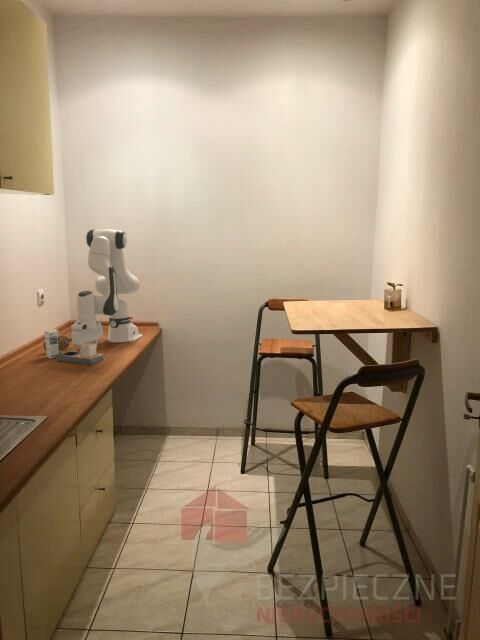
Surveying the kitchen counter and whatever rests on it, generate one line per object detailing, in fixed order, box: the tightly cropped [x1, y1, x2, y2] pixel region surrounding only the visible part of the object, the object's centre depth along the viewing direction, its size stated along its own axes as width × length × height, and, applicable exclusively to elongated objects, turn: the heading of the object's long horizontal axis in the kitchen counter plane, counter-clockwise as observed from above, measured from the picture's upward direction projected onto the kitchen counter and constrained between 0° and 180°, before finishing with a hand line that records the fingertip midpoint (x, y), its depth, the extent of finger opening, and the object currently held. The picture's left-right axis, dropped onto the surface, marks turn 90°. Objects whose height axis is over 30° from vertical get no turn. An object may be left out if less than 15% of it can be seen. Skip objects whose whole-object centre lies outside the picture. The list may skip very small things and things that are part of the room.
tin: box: [43, 335, 70, 352], centre depth 295 cm, size 15×3×8 cm, turn 143°
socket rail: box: [56, 350, 105, 366], centre depth 276 cm, size 10×22×3 cm, turn 66°
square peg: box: [82, 342, 97, 358], centre depth 273 cm, size 5×5×9 cm
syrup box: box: [43, 329, 62, 359], centre depth 282 cm, size 6×6×14 cm
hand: (88, 350), depth 273 cm, fingers open, 8 cm apart
